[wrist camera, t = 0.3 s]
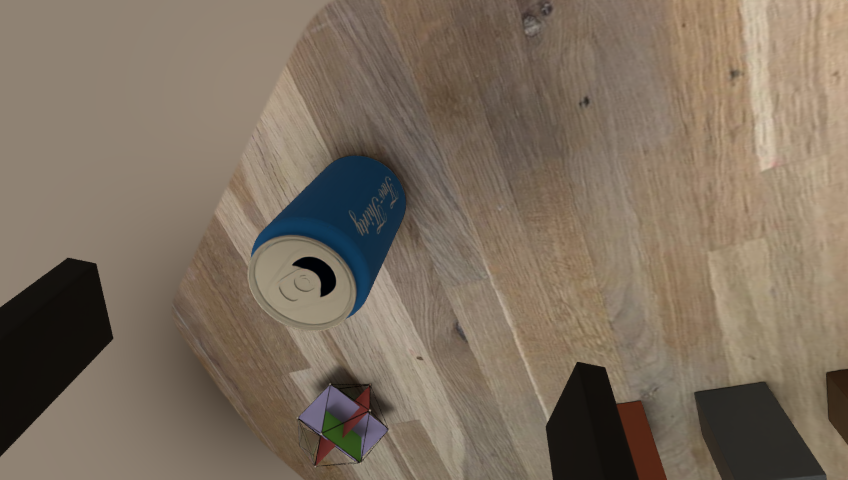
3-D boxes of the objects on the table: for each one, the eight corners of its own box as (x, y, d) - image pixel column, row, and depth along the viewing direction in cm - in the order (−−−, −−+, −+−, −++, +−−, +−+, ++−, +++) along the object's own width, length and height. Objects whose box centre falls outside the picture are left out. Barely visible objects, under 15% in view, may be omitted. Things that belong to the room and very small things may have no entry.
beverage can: (425, 208, 34) (390, 306, 23) (358, 250, 36) (298, 355, 26) (370, 134, 32) (304, 204, 22) (302, 182, 34) (213, 267, 24)
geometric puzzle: (354, 361, 39) (290, 451, 35) (415, 410, 40) (360, 501, 37) (330, 360, 45) (274, 436, 42) (384, 402, 47) (333, 479, 43)
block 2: (765, 381, 36) (826, 474, 29) (770, 427, 38) (829, 525, 31) (693, 392, 38) (736, 483, 31) (702, 435, 40) (744, 531, 33)
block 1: (640, 400, 39) (670, 490, 32) (651, 442, 41) (681, 535, 34) (579, 409, 40) (594, 497, 33) (592, 449, 42) (609, 540, 35)
